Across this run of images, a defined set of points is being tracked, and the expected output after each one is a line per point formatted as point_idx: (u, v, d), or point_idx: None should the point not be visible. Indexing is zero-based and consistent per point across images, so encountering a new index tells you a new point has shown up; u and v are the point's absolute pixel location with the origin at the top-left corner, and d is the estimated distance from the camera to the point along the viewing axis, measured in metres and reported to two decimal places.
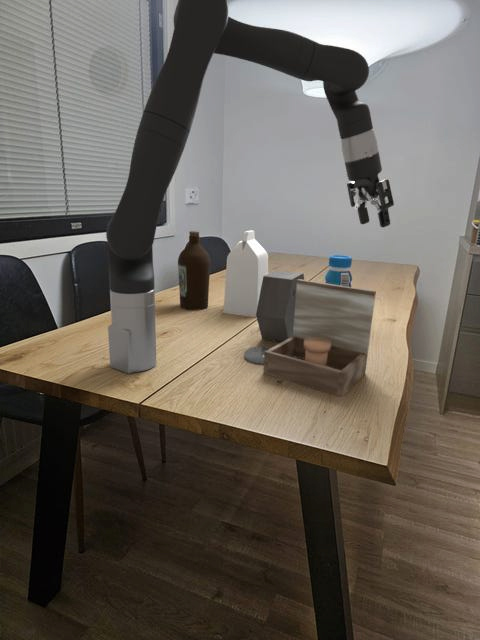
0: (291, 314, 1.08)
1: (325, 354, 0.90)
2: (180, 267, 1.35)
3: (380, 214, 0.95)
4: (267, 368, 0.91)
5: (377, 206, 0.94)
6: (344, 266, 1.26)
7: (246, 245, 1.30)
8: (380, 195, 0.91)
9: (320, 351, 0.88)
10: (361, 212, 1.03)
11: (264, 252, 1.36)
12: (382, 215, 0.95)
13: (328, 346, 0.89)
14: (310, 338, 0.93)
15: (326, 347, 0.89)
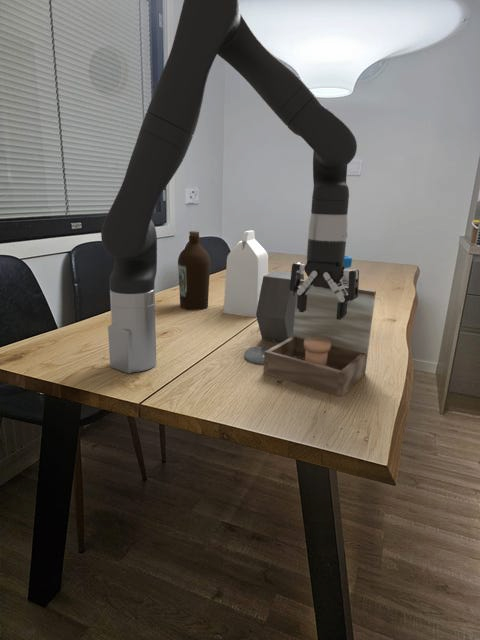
0: (291, 314, 1.08)
1: (325, 354, 0.90)
2: (180, 267, 1.35)
3: (341, 305, 0.85)
4: (267, 368, 0.91)
5: (341, 296, 0.84)
6: (344, 266, 1.26)
7: (246, 245, 1.30)
8: (352, 285, 0.82)
9: (320, 351, 0.88)
10: (303, 298, 0.90)
11: (264, 252, 1.36)
12: (343, 306, 0.85)
13: (328, 346, 0.89)
14: (310, 338, 0.93)
15: (326, 347, 0.89)
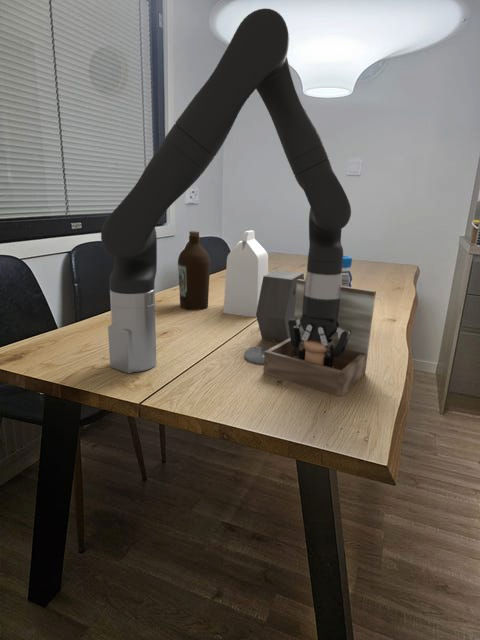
0: (291, 314, 1.08)
1: None
2: (180, 267, 1.35)
3: (327, 360, 0.90)
4: (267, 368, 0.91)
5: (328, 352, 0.89)
6: (344, 266, 1.26)
7: (246, 245, 1.30)
8: (341, 344, 0.87)
9: (320, 351, 0.89)
10: (304, 354, 0.93)
11: (264, 252, 1.36)
12: (329, 361, 0.90)
13: None
14: None
15: None
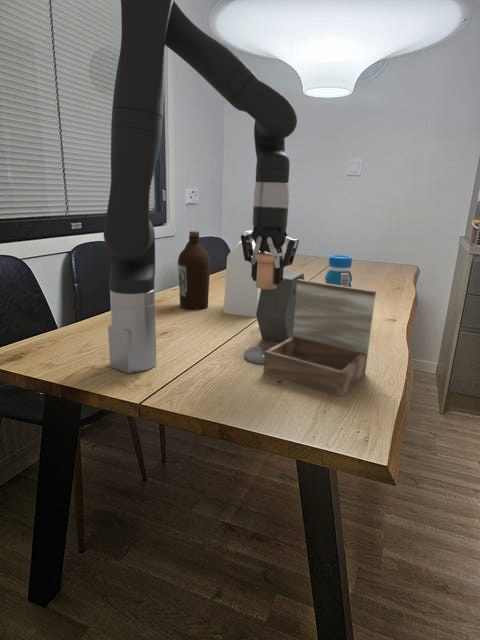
0: (291, 314, 1.08)
1: None
2: (180, 267, 1.35)
3: (277, 271, 0.93)
4: (267, 368, 0.91)
5: (277, 262, 0.92)
6: (344, 266, 1.26)
7: None
8: (288, 252, 0.90)
9: (269, 261, 0.92)
10: None
11: None
12: (278, 272, 0.93)
13: None
14: None
15: None
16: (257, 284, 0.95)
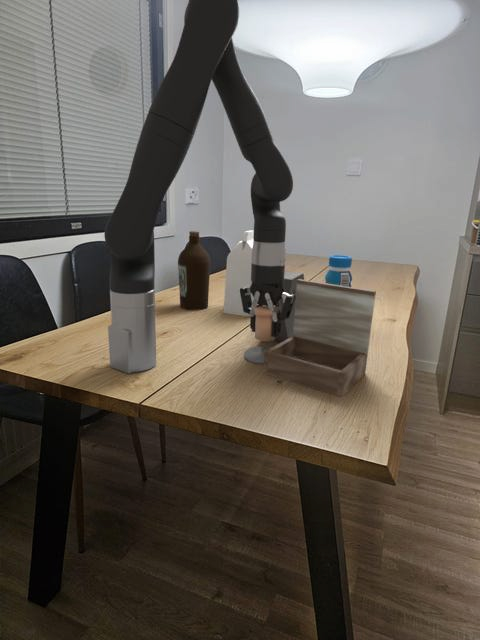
0: (291, 314, 1.08)
1: None
2: (180, 267, 1.35)
3: (274, 324, 0.96)
4: (267, 368, 0.91)
5: (275, 316, 0.95)
6: (344, 266, 1.26)
7: (246, 245, 1.30)
8: (285, 308, 0.93)
9: (267, 315, 0.95)
10: None
11: None
12: (276, 325, 0.96)
13: None
14: None
15: None
16: (256, 336, 0.98)
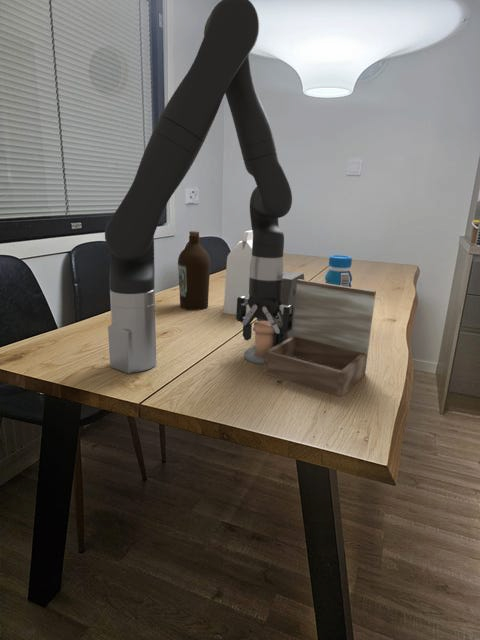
0: None
1: (272, 336, 0.98)
2: (180, 267, 1.35)
3: (277, 336, 0.96)
4: (267, 368, 0.91)
5: (276, 328, 0.96)
6: (344, 266, 1.26)
7: (246, 245, 1.30)
8: (285, 319, 0.94)
9: (267, 333, 0.96)
10: (248, 328, 1.01)
11: None
12: (278, 337, 0.97)
13: None
14: (260, 321, 1.01)
15: (273, 329, 0.96)
16: (256, 352, 0.99)
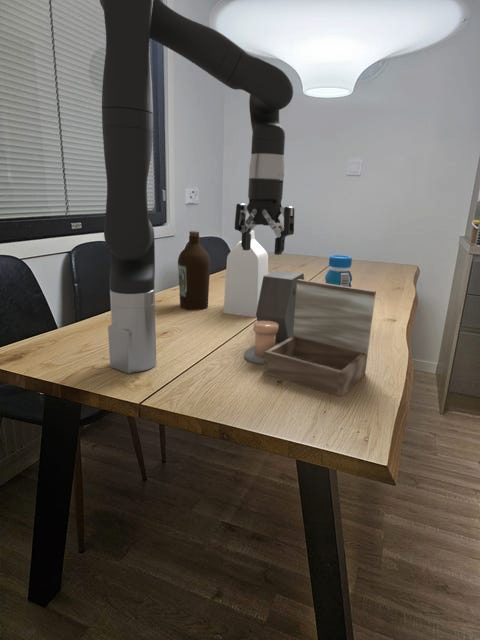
0: (291, 314, 1.08)
1: (272, 336, 0.98)
2: (180, 267, 1.35)
3: (278, 240, 0.92)
4: (267, 368, 0.91)
5: (277, 231, 0.92)
6: (344, 266, 1.26)
7: None
8: (286, 220, 0.90)
9: (267, 333, 0.96)
10: (246, 237, 0.97)
11: (264, 252, 1.36)
12: (280, 242, 0.92)
13: (275, 328, 0.97)
14: (260, 321, 1.01)
15: (273, 329, 0.96)
16: (256, 352, 0.99)
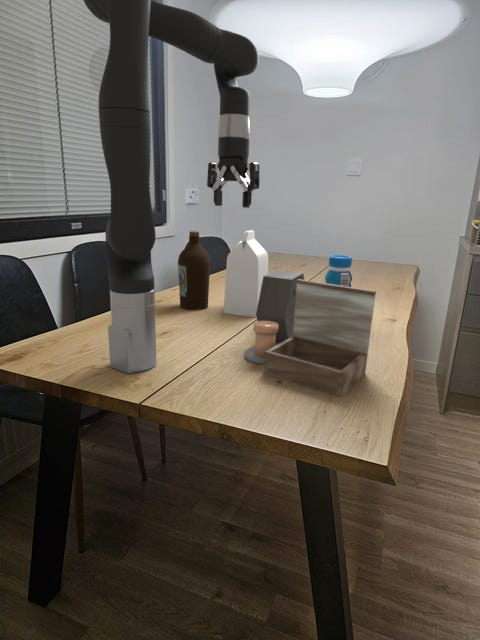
0: (291, 314, 1.08)
1: (272, 336, 0.98)
2: (180, 267, 1.35)
3: (245, 194, 1.02)
4: (267, 368, 0.91)
5: (244, 185, 1.01)
6: (344, 266, 1.26)
7: (246, 245, 1.30)
8: (252, 174, 1.00)
9: (267, 333, 0.96)
10: (218, 193, 1.07)
11: (264, 252, 1.36)
12: (247, 195, 1.02)
13: (275, 328, 0.97)
14: (260, 321, 1.01)
15: (273, 329, 0.96)
16: (256, 352, 0.99)
